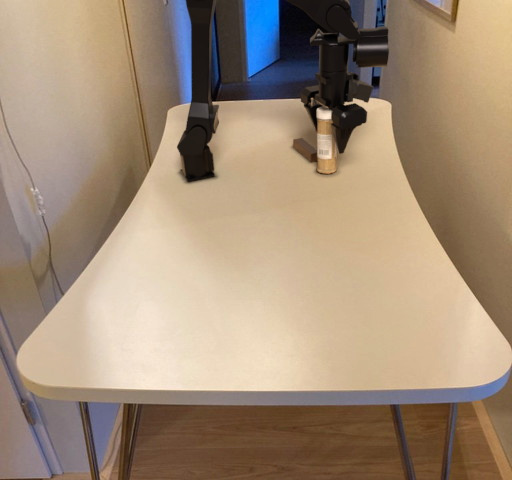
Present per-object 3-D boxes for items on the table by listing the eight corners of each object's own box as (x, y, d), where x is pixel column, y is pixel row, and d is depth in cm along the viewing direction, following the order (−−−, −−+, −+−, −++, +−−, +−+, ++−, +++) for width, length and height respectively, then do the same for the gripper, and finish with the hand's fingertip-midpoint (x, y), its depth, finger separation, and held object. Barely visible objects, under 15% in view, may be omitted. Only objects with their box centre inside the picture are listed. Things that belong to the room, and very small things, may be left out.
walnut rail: (310, 162, 128) (311, 153, 126) (293, 147, 135) (293, 139, 134) (320, 160, 128) (320, 151, 127) (301, 145, 135) (302, 137, 134)
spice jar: (341, 170, 123) (342, 106, 115) (327, 175, 121) (328, 111, 113) (325, 166, 126) (326, 104, 118) (312, 171, 123) (312, 108, 116)
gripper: (394, 73, 104) (386, 153, 114) (346, 51, 117) (343, 125, 128) (342, 83, 101) (338, 164, 112) (299, 59, 115) (299, 134, 125)
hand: (330, 145), depth 119 cm, fingers open, 9 cm apart
